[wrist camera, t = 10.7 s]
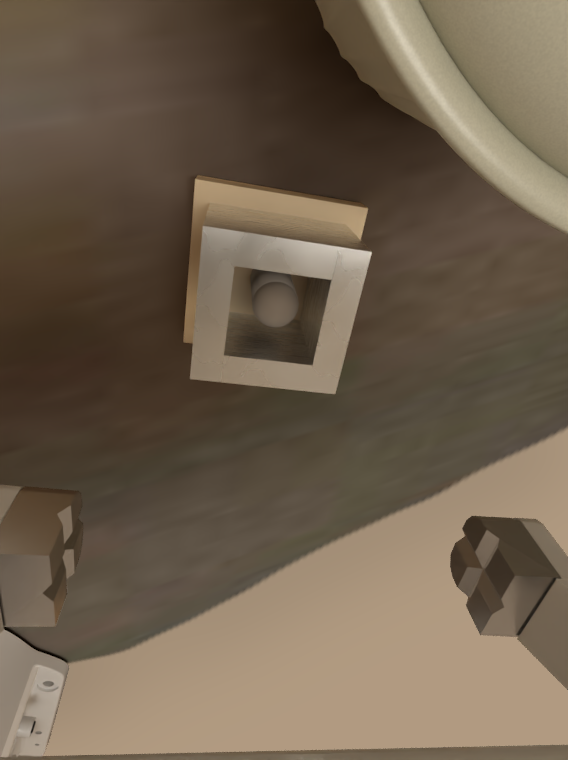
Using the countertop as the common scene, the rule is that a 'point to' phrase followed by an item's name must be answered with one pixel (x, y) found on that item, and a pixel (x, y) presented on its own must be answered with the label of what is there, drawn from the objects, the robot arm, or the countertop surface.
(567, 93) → the canister
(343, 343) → the white hollow square block
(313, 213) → the base plate
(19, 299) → the countertop surface
